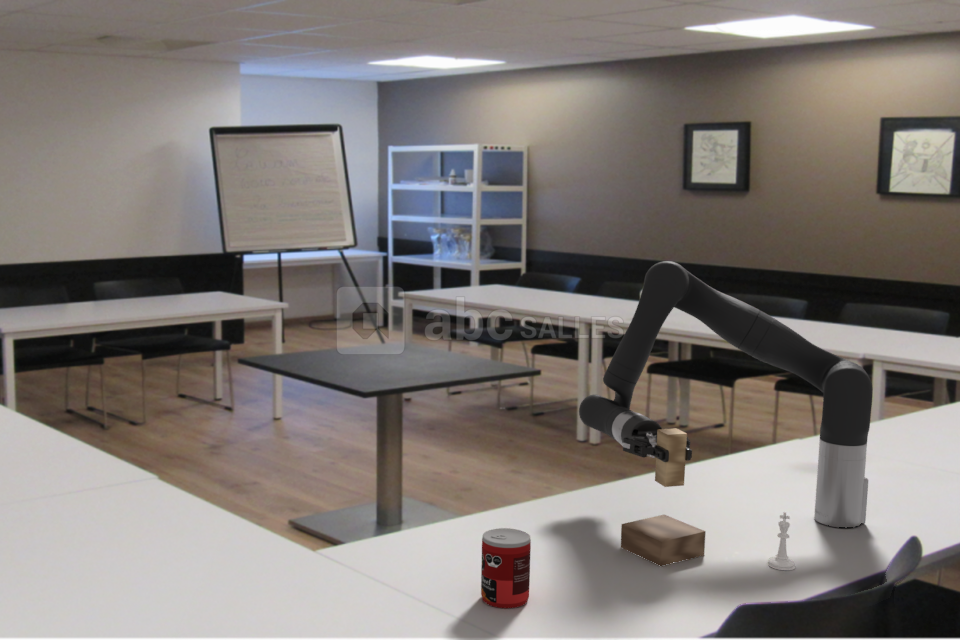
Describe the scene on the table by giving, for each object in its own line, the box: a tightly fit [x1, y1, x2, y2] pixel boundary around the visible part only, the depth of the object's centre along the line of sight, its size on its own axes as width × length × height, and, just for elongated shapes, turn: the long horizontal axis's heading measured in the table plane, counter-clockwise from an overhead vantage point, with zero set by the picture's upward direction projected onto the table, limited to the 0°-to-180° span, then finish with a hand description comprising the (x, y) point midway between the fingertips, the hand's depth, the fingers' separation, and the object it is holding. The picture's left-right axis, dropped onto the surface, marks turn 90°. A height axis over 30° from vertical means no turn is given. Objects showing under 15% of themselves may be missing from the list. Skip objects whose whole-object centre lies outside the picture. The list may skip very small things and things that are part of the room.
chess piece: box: [767, 511, 796, 571], centre depth 181 cm, size 5×5×10 cm
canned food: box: [480, 527, 532, 609], centre depth 163 cm, size 8×8×11 cm
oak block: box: [654, 428, 688, 488], centre depth 186 cm, size 4×4×10 cm
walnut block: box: [620, 514, 706, 567], centre depth 187 cm, size 11×11×5 cm
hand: (678, 455), depth 184 cm, fingers closed on oak block, 4 cm apart
